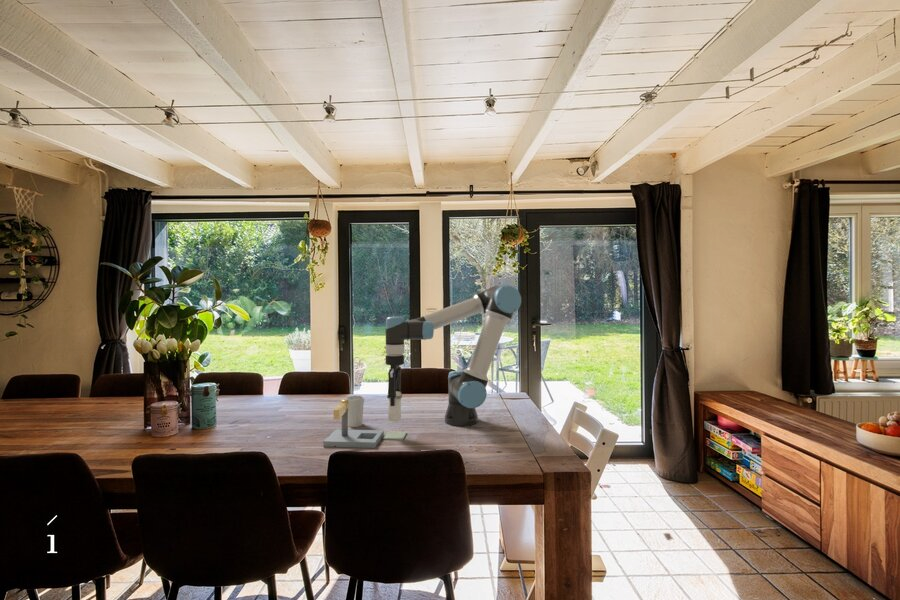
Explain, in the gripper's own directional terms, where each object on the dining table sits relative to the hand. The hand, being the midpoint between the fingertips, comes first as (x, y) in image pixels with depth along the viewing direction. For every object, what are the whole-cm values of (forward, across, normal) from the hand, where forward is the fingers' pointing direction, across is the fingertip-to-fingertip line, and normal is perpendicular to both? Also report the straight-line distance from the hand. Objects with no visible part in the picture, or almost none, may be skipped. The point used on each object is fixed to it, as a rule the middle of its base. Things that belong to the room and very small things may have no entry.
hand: (394, 411), depth 166 cm
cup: (+11, -14, -21) cm, 27 cm away
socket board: (+10, +6, -15) cm, 19 cm away
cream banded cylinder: (+3, 0, 0) cm, 3 cm away
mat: (+10, 0, 0) cm, 10 cm away
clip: (-2, +11, -18) cm, 22 cm away
